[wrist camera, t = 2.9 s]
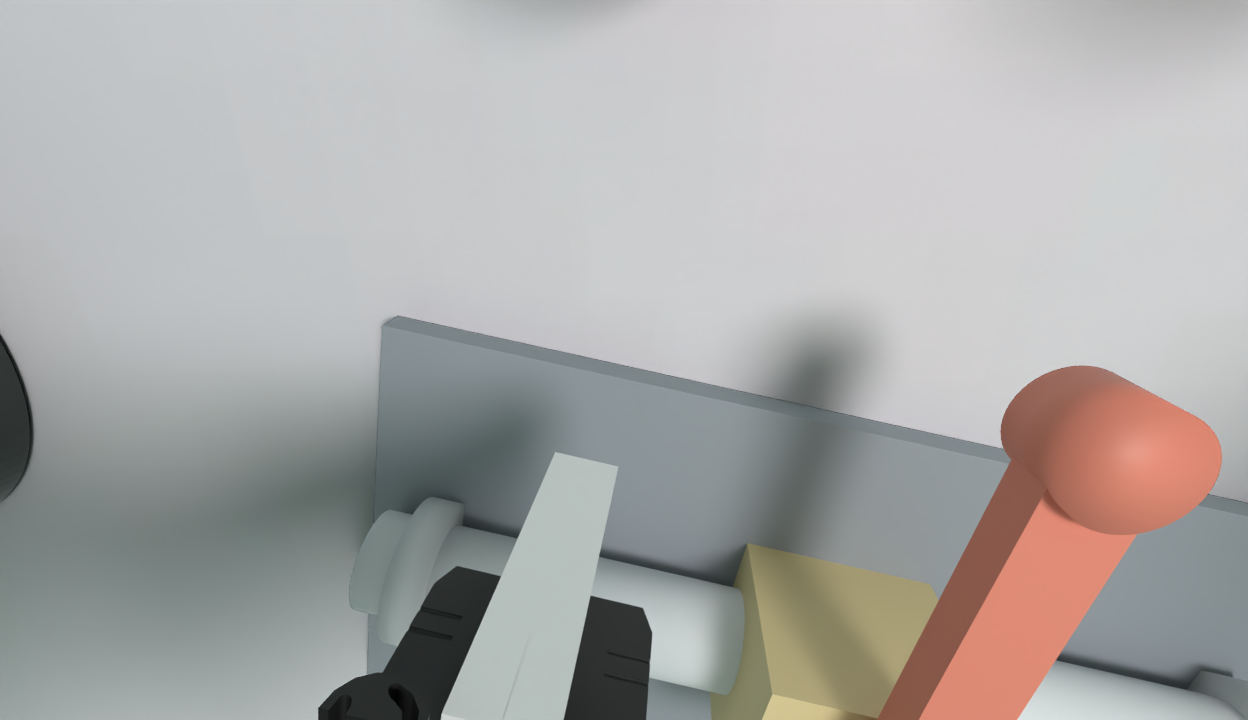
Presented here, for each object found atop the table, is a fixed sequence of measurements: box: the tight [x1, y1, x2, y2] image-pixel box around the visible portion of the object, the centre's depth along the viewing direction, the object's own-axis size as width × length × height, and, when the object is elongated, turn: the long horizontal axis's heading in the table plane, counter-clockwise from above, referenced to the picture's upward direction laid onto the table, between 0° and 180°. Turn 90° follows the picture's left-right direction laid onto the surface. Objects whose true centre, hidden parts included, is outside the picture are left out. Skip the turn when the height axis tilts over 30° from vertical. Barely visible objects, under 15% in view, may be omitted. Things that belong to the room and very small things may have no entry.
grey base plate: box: [349, 316, 1248, 720], centre depth 20 cm, size 36×17×8 cm, turn 79°
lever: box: [877, 366, 1222, 720], centre depth 13 cm, size 15×3×2 cm, turn 169°
